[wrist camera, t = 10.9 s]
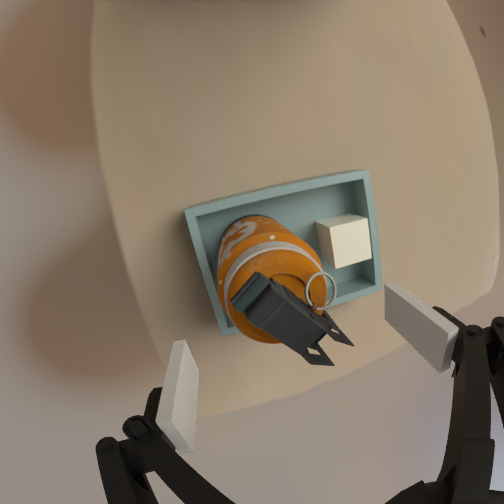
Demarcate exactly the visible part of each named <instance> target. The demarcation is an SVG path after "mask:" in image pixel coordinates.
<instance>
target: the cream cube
mask: <svg viewBox="0 0 504 504" xmlns="http://www.w3.org/2000/svg"><path fill="white" fill-rule="evenodd" d="M315 224H316V229H317V235H318V241H319V247H320V253H321V258H322V259H324V260H325V261H326V262H327V263H329V264H330V265H331V266H332V267H334V268H335V269H337V268H341V267H344V266H347V265H351V264H354V263H357V262H361V261H364V260H367V259H371V258H372V255H371V245H370V236H369V227H368V220H367V218H365V217H362V216H358V215H355V214H351V213H347V214H343V215H339V216H334V217H330V218H326V219H322V220H318V221H315Z"/></svg>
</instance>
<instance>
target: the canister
mask: <svg viewBox="0 0 504 504" xmlns="http://www.w3.org/2000/svg"><path fill="white" fill-rule="evenodd" d="M325 276H327V277H328V278H329V279H330V281H331V283H332V285H333V295H332V298H331V300H330V302H329V303H328V304H327V305H326V306H325V304H326V300H327V293H328V288H327V281H326V277H325ZM217 293H218V297H219V301H220V303H221V306H222V308H223V310H224V311H225V313H226V314H227V315H228V317H229V319H230V320H231V322H232V324H233V325H234V326H235V327H236V328H237V329H238V330H239V331H240V332H241V333H242V334H244V335H246V336H247V337H249V338H251V339H253V340H256V341H259V342H263V343H271V344H276V343H283V344H285V345H286V346H288V347H289V348H291V349H292V350H294V351H295V352H297V353H298V354H300V355H301V356H302V357H303V358H304V359H305V360H306V361H307V362H308V363H310V364H312V365H327V366H334V364H333V362H332V361H331V360H330V358H329V357H328V356H327V355H326V353H325V352H324V351H323V350H322V348H321V347H320V346H319V344H318V342H319V341H320V340H321V339H322V338H323V337H324V336H325V335H326V334H328V335H329V336H330V337H332V338H333V339H334V340H335V341H338V342H341V343H344V344H347V345H351V346H354V344H353V343H352V342H351V341H350V340H349V339H348V338H347V337H346V336H345V334H344V333H343V332H342V331H341V330H340V329H339V328H338V326H337V325H336V324H335V323H334V321H333V320H332V318H331V317H330V316H329V315H328V313H327V312H326V311H325V309H327V308H329V307H330V306H331V305H332V304H333V302H334V300H335V298H336V293H337V287H336V283H335V281H334V279H333V277H332V276H331V275H330V274H328V273H326V272H323V268H322V264H321V262H320V260H319V257H318V256H317V254H316V253H315V251H314V250H313V249H312V248H311V247H310V246H309V245H308V244H307V243H306V242H304V241H303V240H302V239H300V238H299V237H298V236H296V235H295V234H294V233H292V232H291V231H289V230H288V229H287V228H285V227H284V226H283V225H281V224H280V223H279V222H277V221H276V220H274V219H272V218H270V217H268V216H265V215H259V214H252V215H246V216H243V217H241V218H239V219H237V220H235V221H234V222H232V223H231V224H230V225H229V226H228V227H227V228H226V230H225V231H224V232H223V235H222V237H221V239H220V242H219V249H218V272H217ZM332 328H333V329H334V330H336V331H338V332H339V333H340V334H338V333H335V332H333V331H331V329H332ZM307 348H311V349H314V350H317V351H318V352H319V353H320V354H321V355H316V354H310V353H309V351H308V349H307Z"/></svg>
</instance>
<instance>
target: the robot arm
mask: <svg viewBox="0 0 504 504" xmlns="http://www.w3.org/2000/svg"><path fill="white" fill-rule="evenodd" d="M384 288H385V320H386V321H387V322H388V323H389V324H390V325H391V326H392V327H393V328H394V329H395V330H396V331H397V332H398V333H400V334H401V335H402V336H403V337H404V338H405V339H406V340H407V341H408V342H409V343H410V344H411V345H412V346H413V347H414V348H415V349H416V350H417V351H418V352H419V353H420V354H421V355H422V356H423V357H424V358H425V359H426V360H427V361H428V362H429V363H430V364H431V365H432V366H433V367H434V368H435V369H436V370H437V371H438V372H439V373H441V372H443V371H445V370H446V369H448V368H450V364H451V361H452V360H453V361H454V362H455V363H456V364H455V367H454V371H453V374H452V377H454V388H453V401H452V411H451V420H450V428H449V434H448V440H447V445H446V451H445V456H444V460H443V465H442V469H441V471H440V474H439V476H438V478H437V481H435V482H429V483H425V484H424V482H423V481H422V480H421V481H420V482H418V483H416V484H414V485H412V486H411V487H409V488H407V489H405V490H403V491H401V492H400V493H398V494H397V495H396V496H394V497H393V498H392V499H390V500H389V501H388V502H386V503H385V504H504V491H495V490H489V487H490V482H491V475H492V467H493V459H494V448H495V441H494V439H491V438H490V430H491V429H490V428H491V395H490V383H491V386H492V389H493V392H494V395H495V398H496V401H497V405H498V408H499V412H500V415H501V419H502V423H503V427H504V317H496V318H494V319H493V320H492V323H491V326H490V327H486V328H484V329H482V328H481V327H479V326H477V325H468V326H466V325H465V324H463V323H462V322H460V321H459V320H458V319H456V318H455V317H454V316H452V315H451V314H449V313H448V312H446V311H445V310H444V309H442V308H439V307H436V306H434V307H432V308H431V307H430V306H429V305H427V304H426V303H424V302H423V301H421V300H420V299H419V298H417V297H416V296H414V295H413V294H412V293H410V292H409V291H407V290H406V289H404V288H403V287H401V286H400V285H399V284H397V283H396V282H394V281H393V282H390V283H387V284H384ZM198 384H199V370H198V368H197V365H196V363H195V361H194V359H193V356H192V354H191V352H190V349H189V347H188V345H187V342H186V340H185V339H184V340H179V341H174V343H173V347H172V351H171V355H170V359H169V363H168V367H167V371H166V376H165V380H164V384H163V387H160V388H154V389H153V390H152V391H151V393H150V394H149V397H148V400H147V404H146V409H145V413H144V416H140V415H136V416H132V417H130V418H128V419H127V420H126V421H125V423H124V424H123V428H122V429H123V432H124V433H125V435H126V436H127V437H128V438H129V439H126V440H122V441H119V442H118V441H116V439H114V438H113V437H104V438H103V439H101V440H100V441H99V442H98V443H97V445H96V454H97V460H98V465H99V470H100V474H101V478H102V482H103V486H104V490H105V494H106V498H107V501H108V504H158V502H157V499H156V497H155V495H154V493H153V491H152V489H151V486H150V484H149V481H148V479H147V477H146V474H145V473H148V472H152V471H155V472H156V473H157V474H158V476H160V478H161V479H162V480H163V481H164V482H165V483H166V485H167V486H168V487H169V488H170V489H171V490H172V491H173V492H174V493H175V494H176V495H177V496H178V497H179V498H180V499H181V500H182V501H183V502H184V503H185V504H235V503H234V502H233V501H231V500H230V499H229V498H227V497H226V496H225V495H223V494H222V493H221V492H220V491H218V490H217V489H216V488H215V487H214V486H212V485H211V484H210V483H209V482H207V481H206V480H205V479H204V478H203V477H202V476H201V475H199V474H198V473H197V472H196V471H195V470H194V469H193V468H192V467H191V466H190V465H188V463H186V462H185V461H184V460H183V459H182V458H181V457H180V456H179V455H178V454H177V453H176V452H175V448H176V449H177V450H178V452H179V453H194V450H195V430H196V429H195V428H196V413H197V398H198Z"/></svg>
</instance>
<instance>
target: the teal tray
mask: <svg viewBox="0 0 504 504" xmlns="http://www.w3.org/2000/svg"><path fill="white" fill-rule="evenodd" d="M184 212H185V216H186V220H187V223H188V227H189V231H190V234H191V238H192V241H193V245H194V248H195V252H196V255H197V259H198V262H199V265H200V269H201V272H202V275H203V279H204V282H205V285H206V288H207V291H208V295H209V298H210V301H211V304H212V307H213V310H214V313H215V316H216V319H217V322H218V325H219V328H220V331H221V334H222V336H226V335H231V334H235V333H239V332H240V331H239V330H238V329H237V328H236V327H235V326H234V325H233V324H232V322H231V320H230V319H229V317H228V315H227V314H226V313H225V311H224V310H223V308H222V306H221V303H220V301H219V297H218V293H217V272H218V249H219V242H220V239H221V237H222V235H223V232H224V231H225V230H226V228H227V227H228V226H229V225H230V224H231V223H232V222H234V221H235V220H237V219H239V218H241V217H243V216H246V215H252V214H259V215H265V216H268V217H270V218H272V219H274V220H276V221H277V222H279V223H280V224H281V225H283V226H284V227H285V228H287V229H288V230H289V231H291V232H292V233H294V234H295V235H296V236H298V237H299V238H300V239H302V240H303V241H304V242H306V243H307V244H308V245H309V246H310V247H311V248H312V249H313V250H314V251H315V253H316V254H317V256H318V257H319V260H320V262H321V264H322V268H323V272H326V273H328V274H330V275H331V276H332V277H333V279H334V281H335V283H336V287H337V293H336V298H335V300H334V302H333V304H332V305H331V306H330V307H332V306H335V305H338V304H341V303H345V302H348V301H351V300H354V299H357V298H359V297H362V296H365V295H368V294H371V293H374V292H377V291H379V290H382V278H381V262H380V250H379V239H378V229H377V221H376V213H375V206H374V199H373V192H372V186H371V180H370V174H369V169H366V170H350V171H344V172H339V173H333V174H328V175H322V176H317V177H312V178H307V179H302V180H297V181H292V182H288V183H283V184H278V185H274V186H269V187H265V188H261V189H256V190H252V191H248V192H244V193H239V194H235V195H231V196H227V197H223V198H219V199H215V200H212V201H208V202H204V203H200V204H197V205H193V206H189V207H188V208H186V209H185V210H184ZM347 213H351V214H355V215H358V216H362V217H365V218H367V220H368V227H369V236H370V245H371V255H372V258H371V259H367V260H364V261H361V262H357V263H354V264H351V265H347V266H344V267H341V268H337V269H335V268H334V267H332V266H331V265H330V264H329V263H327V262H326V261H325V260H324V259H322V258H321V253H320V247H319V241H318V235H317V229H316V224H315V221H318V220H322V219H326V218H330V217H334V216H339V215H343V214H347ZM325 277H326V281H327V288H328V293H327V300H326V304H325V306H326V305H327V304H328V303H329V302H330V300H331V298H332V295H333V285H332V283H331V281H330V279H329V278H328V277H327V276H325Z"/></svg>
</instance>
